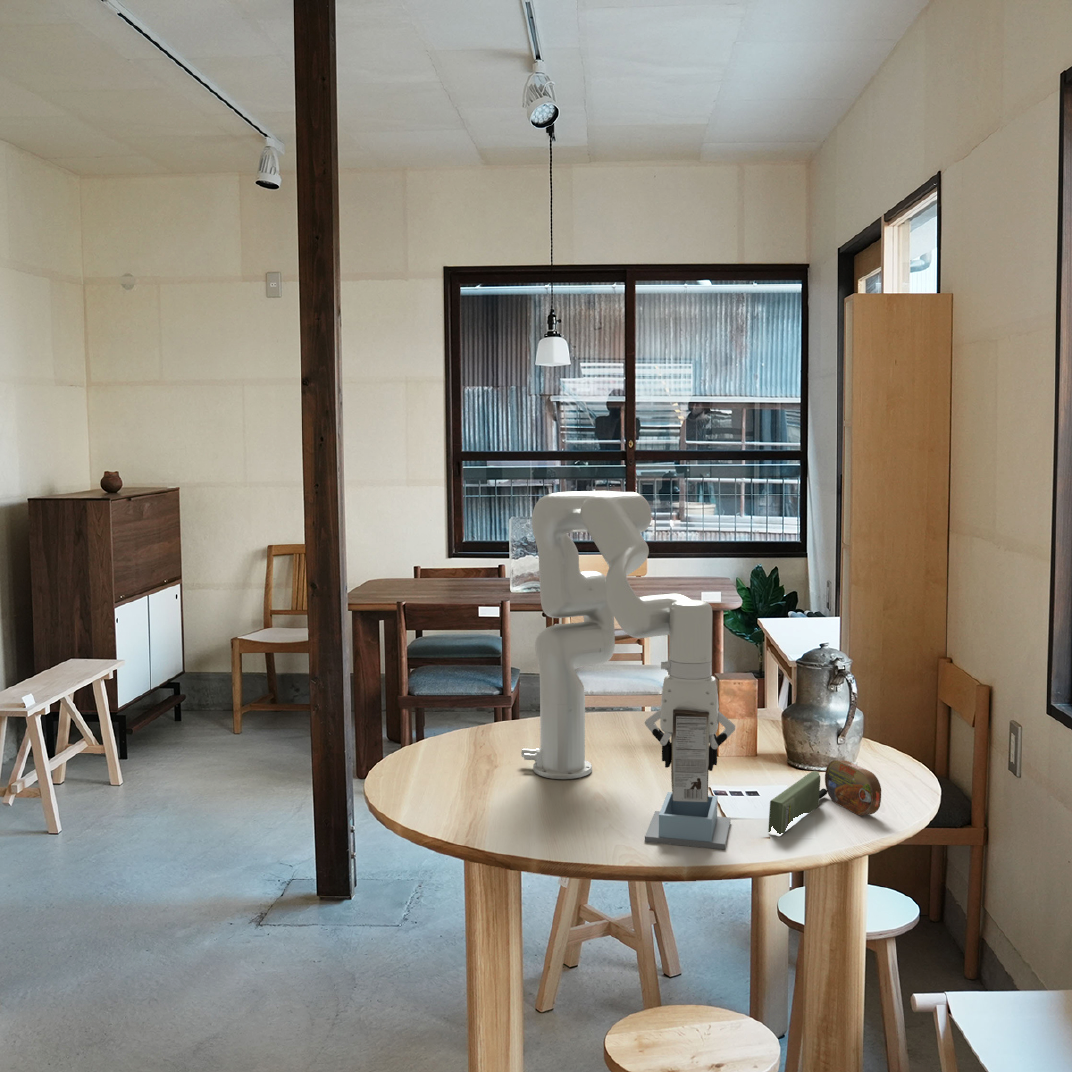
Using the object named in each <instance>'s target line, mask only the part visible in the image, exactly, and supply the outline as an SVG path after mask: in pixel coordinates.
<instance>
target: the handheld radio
mask: <svg viewBox="0 0 1072 1072" xmlns="http://www.w3.org/2000/svg"><path fill="white" fill-rule="evenodd" d="M827 794H828V792H827V789H826V788H823V787H822V788H821V774H820V771H816V770H813V771H811V772H809V773H808V774H806V775H805V776H804V777H802V778H800V779H799V780H798V781H796V782H795V783H794V784H792V785H790V786H789V787H788V788H786V789H785V790H784V791H782V792H780V793H779V794H778V795H776V796H775V797H774V798H772V799H771V800H770V802H769V813H768V814H769V815H768V829H767V830H768V831H767V833H768V832H770V831H771V827H772V826H773V828H774V829H775V830H776V831H777V833H779V834H781V833H784V832H785V830H786V828H787V826H788V824H789V823H790V822H791V821H793V818H795V817H798V816H799V815H801V814H803V813H810V814H811V813H812V812H813V811H815V810H816V809H817V808H818V807H819V805H820V800H821V799H823V797H825V796H826V795H827ZM784 834H785V833H784Z"/></svg>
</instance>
